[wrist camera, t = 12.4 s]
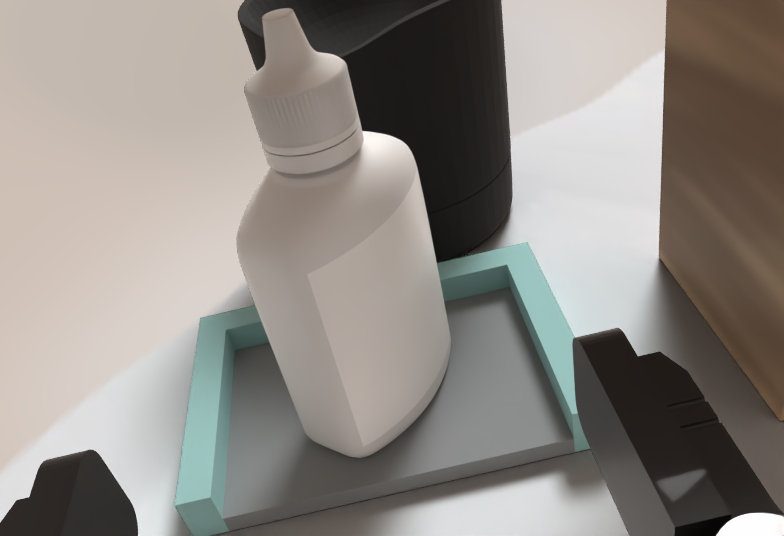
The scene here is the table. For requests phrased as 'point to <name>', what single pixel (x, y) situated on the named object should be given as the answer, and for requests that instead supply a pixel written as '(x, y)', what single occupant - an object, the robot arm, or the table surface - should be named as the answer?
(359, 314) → the eye dropper bottle
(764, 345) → the shelf
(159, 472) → the table surface
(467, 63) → the pen holder
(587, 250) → the table surface
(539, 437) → the mint green tray
